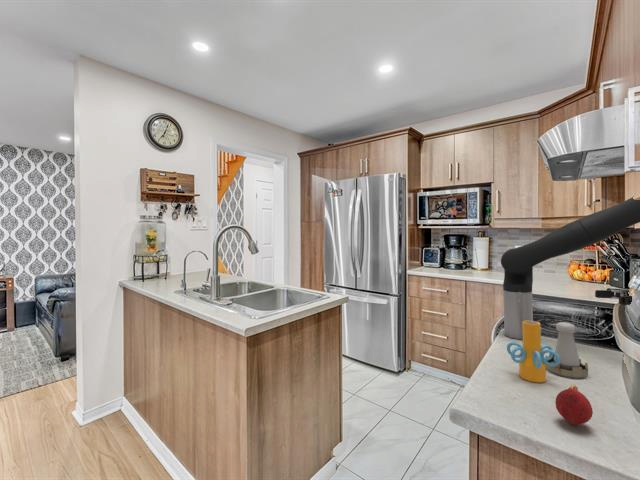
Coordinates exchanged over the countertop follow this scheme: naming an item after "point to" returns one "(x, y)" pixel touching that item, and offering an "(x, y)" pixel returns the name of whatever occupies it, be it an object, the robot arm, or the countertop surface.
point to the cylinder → (532, 353)
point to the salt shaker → (566, 346)
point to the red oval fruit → (573, 406)
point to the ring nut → (574, 373)
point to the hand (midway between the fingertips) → (607, 297)
